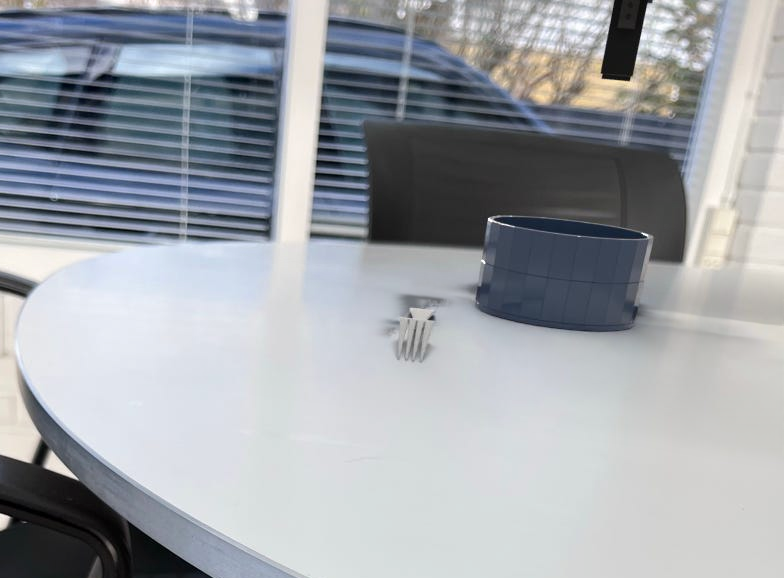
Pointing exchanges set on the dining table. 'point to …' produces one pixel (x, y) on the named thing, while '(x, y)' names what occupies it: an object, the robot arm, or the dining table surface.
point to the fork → (416, 323)
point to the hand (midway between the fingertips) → (615, 78)
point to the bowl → (562, 273)
